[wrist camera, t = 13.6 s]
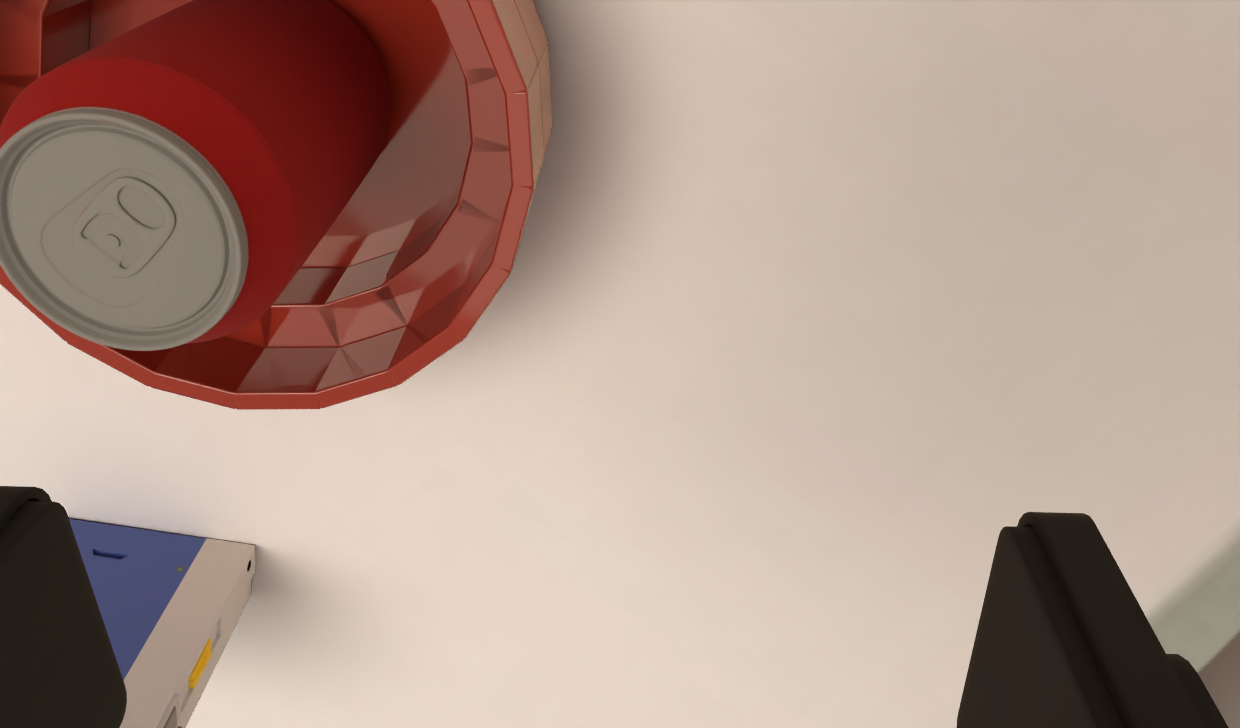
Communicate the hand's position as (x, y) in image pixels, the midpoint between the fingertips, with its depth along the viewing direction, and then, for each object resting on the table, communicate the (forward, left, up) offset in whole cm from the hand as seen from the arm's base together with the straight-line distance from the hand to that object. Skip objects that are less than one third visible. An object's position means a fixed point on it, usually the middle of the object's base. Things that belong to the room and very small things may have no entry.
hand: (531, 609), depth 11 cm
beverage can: (+1, -10, -24) cm, 26 cm away
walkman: (+20, -19, -25) cm, 37 cm away
